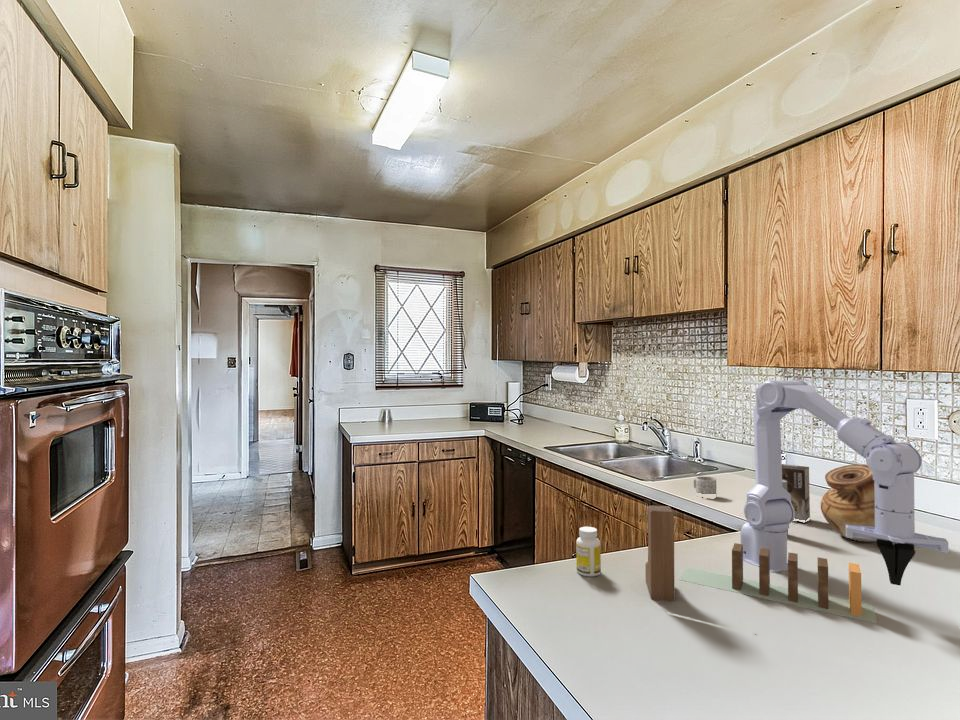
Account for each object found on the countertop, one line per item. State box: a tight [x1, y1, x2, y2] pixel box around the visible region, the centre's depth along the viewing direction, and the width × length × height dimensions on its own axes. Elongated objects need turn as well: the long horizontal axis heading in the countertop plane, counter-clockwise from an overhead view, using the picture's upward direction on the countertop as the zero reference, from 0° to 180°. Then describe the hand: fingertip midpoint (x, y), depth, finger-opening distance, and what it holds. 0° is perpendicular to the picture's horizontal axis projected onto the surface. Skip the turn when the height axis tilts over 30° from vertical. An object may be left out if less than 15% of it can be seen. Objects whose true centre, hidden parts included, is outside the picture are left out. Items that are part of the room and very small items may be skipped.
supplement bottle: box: [575, 526, 602, 577], centre depth 114 cm, size 5×5×10 cm
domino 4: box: [817, 556, 829, 609], centre depth 99 cm, size 2×5×8 cm, turn 147°
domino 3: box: [787, 551, 799, 603], centre depth 101 cm, size 2×5×8 cm, turn 147°
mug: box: [692, 475, 717, 495], centre depth 182 cm, size 10×7×7 cm, turn 13°
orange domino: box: [848, 562, 862, 617], centre depth 96 cm, size 2×5×8 cm, turn 147°
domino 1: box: [731, 542, 744, 590], centre depth 107 cm, size 2×5×8 cm, turn 147°
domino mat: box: [678, 567, 878, 624], centre depth 103 cm, size 34×8×1 cm, turn 57°
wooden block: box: [645, 505, 675, 602], centre depth 104 cm, size 9×4×18 cm, turn 169°
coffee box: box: [782, 463, 811, 521], centre depth 155 cm, size 9×6×16 cm
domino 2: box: [758, 548, 771, 596], centre depth 104 cm, size 2×5×8 cm, turn 147°
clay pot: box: [820, 464, 876, 543], centre depth 136 cm, size 19×19×20 cm
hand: (894, 582), depth 93 cm, fingers closed
